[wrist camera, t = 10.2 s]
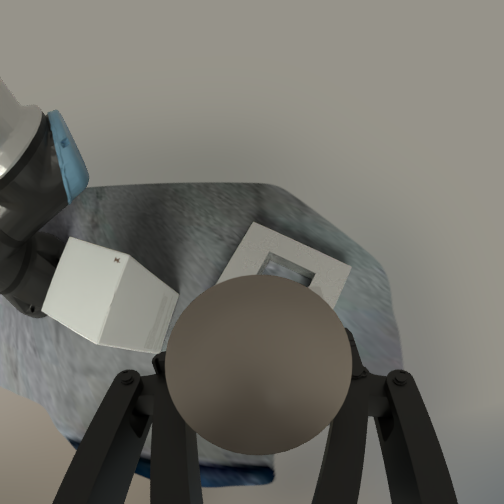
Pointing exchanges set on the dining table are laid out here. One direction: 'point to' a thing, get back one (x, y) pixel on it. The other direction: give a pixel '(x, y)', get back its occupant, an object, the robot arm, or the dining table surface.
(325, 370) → the yellow and grey cylinder
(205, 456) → the dining table surface
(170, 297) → the supplement box
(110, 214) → the dining table surface
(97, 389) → the dining table surface
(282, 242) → the housing
